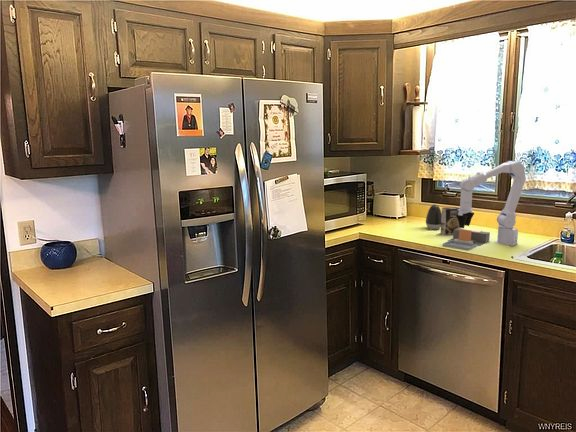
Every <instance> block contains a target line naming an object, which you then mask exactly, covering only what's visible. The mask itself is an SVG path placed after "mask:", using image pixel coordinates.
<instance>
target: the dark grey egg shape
mask: <svg viewBox="0 0 576 432" xmlns="http://www.w3.org/2000/svg"><path fill="white" fill-rule="evenodd" d="M441 216H442V209H441V208H440V206H439V205H438V204H432V205H431V206H429V208H428V211H427V214H426V218H425V224H426V227H427V228H428V229H430V230H439V229H441Z"/></svg>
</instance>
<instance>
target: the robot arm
mask: <svg viewBox="0 0 576 432" xmlns="http://www.w3.org/2000/svg"><path fill="white" fill-rule="evenodd" d="M525 169H526V167H525V166H524V164H523V163H522V162H520V161H513V160H507V161H506V162H503V163H501V164H499V165H498V166H496V167H493V168H492V169H489V170H488V171H486V172H476V174H474V175H472V176H469V177H468V178H464V179H462V180H461V181H460V183H459V187H460V200H459V201H460V203H459V208H460V209H458V211H459V212H458V214H457V215H456V217H457V219H458V222H459V227H460V228H461V229H465V226H467V227H470V225H471V221H472V218H473V217H474V215H475V212H473V207H472V206H473V205H472V202H473V190H474V188H476V187H478V186H481V185H482V184H485V183H487V181H488V179H489V178H492V177H495V176H498V175H500V174H502V173H504V174H505V173H506V174H509V175H510V177H511V178H512V179H513V181H512V185H511V188H510V191H509V194H508V196H507V199H506V202H505V205H504V208H503V209H502V210H501V211H500V213H499V215H498V216H497V218H496V222H497V223H498V227H497V240H496V241H495V242H494V243H495V244H501V245H508V246H509V247H510V246H511V247H513V246H515V245H517V244H518V238H519V237H518V235H519V230H518V228H515V225H516V223H517V222H516V217H517V214H516V209H517V206H518V204H519V201H520V197H521V194H522V193H523V192H522V191H523V190H524V189H523V188H524V186H525V184H526V183H525V182H526V179H527V177H526V172H525Z"/></svg>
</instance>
